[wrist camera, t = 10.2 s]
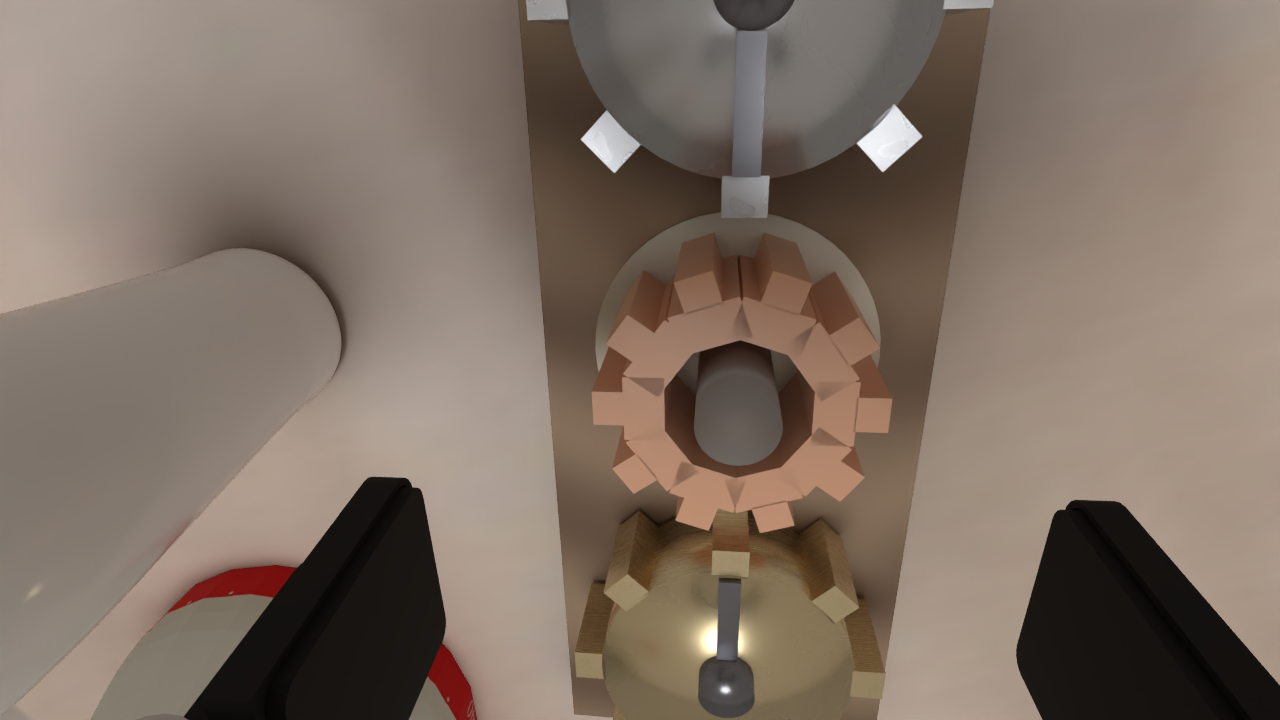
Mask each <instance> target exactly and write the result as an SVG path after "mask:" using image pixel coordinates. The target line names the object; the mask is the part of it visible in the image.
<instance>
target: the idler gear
mask: <svg viewBox="0 0 1280 720" xmlns="http://www.w3.org/2000/svg"><path fill="white" fill-rule="evenodd" d="M812 284H813V283H812V281H811V278H810V276H809V273H808V271H807V268H806V265H805V263H804V260H803V258H802V255H801V253H800V250H799V248H798V245H797V243H796V242H793V241H790V240H787V239H784V238H780V237H777V236H774V235H771V234H768V233H765V232H764V234H763V236H762V239H761V242H760V244H759V247H758V250H757V252H756V255H755V258H751V257H747V256H744V255H741V254H740V255H739V258H738V256H737V254H735V255H732V256H729V257H726V258H722V256H721V253H720V249H719V246H718V243H717V240H716V237H715V233H710V234H707V235H704V236H701V237H698V238H695V239H692V240H688V241H685V242H682V244H681V249H680V254H679V259H678V264H677V269H676V274H675V275H673V277H672V278H671V279H670V281H669V282H668V283H667V285H666V286H665V285H664V284H662V283H661V282H660V281H658V280H657V279H655V278H654V277H652V276H651V275H650V274H648V273H647V272H645V271H644V270H643V271H642V273H641V274H640V275H639V277H638V278H637V280H636V281H635V282H634V284H633V285H632V286H631V288H630V289H629V291H628V292H627V293H626V295H625V297H624V299H623V302H622V304H621V307H620V310H619V312H618V315H617V317H616V320H615V322H614V325H613V327H612V330H611V332H610V335H609V337H608V340H607V342H606V344H607V345H608V346H609V347H608V350H607V353H606V355H605V358H604V360H603V363H602V366H601V368H600V371H599V374H598V376H597V379H596V381H595V384H594V387H593V389H592V407H593V424H594V425H621V426H623V428H622V432H621V436H620V440H619V444H618V448H617V451H616V455H615V459H614V463H613V467H612V469H613V471H614V472H615V473H616V474H617V475H618V476H619V477H620V479H621V480H622V481H623V482H624V483H625V484H626V486H627V487H628V488H629V489H630V490H631V491H632V493H633V494H634V493H636V492H638V491H639V490H641V489H643V488H645V487H646V486H648V485H650V484H651V483H653V482H655V481H656V480H658V482H659V483H660V484H661V485H662V486H663V488H664V489H665V490H666V491H668V490H670V491H669V493H671V494H674V495H677V496H678V499H677V509H676V519H675V521H678V522H681V523H685V524H688V525H691V526H694V527H698V528H701V529H704V530H707V531H709V529H710V526H711V524H712V522H713V519H714V517H715V515H716V512H717V510H718V508H719V509H722V510H725V511H729V512H732V513H733V512H734V510H736V513H739V512H743V511H748V510H752V512H753V514H754V517H755V520H756V523H757V526H758V529H759V532H760V533H763V532H768V531H772V530H777V529H781V528H786V527H791V526H795V525H794V518H793V512H792V505H791V501H792V500H797V499H801V498H803V496H802V494H803V495H804V496H807V495H808V494H809V493H810V492H811V491H812V490H813V489H814V488H815V487H816V486H817V487H819V488H820V489H822V490H823V491H825V492H826V493H828V494H829V495H831V496H832V497H834V498H835V499H837V500H838V501H841V500H843V499H844V498H845V497H846V496H847V495H848V494H849V493H850V492H851V491H852V490H853V489H854V488H855V487H856V486H857V485H858V484H859V483H860V482H861V481H862V480H863V479H864V478H865V476H864V473H863V470H862V467H861V464H860V461H859V458H858V455H857V452H856V449H855V446H854V439H855V432H870V433H888V430H889V422H890V415H891V407H892V397H891V394H890V392H889V390H888V388H887V386H886V384H885V382H884V380H883V378H882V376H881V374H880V372H879V370H878V368H877V366H876V364H875V362H874V360H873V358H872V356H871V354H872V353H873V352H875V351H877V350H878V349H880V347H879V345H878V343H877V341H876V339H875V337H874V336H873V334H872V332H871V330H870V328H869V326H868V324H867V323H866V321H865V319H864V317H863V315H862V313H861V311H860V310H859V308H858V306H857V304H856V302H855V300H854V298H853V297H852V295H851V294H850V292H849V291H848V289H847V288H846V286H845V285H844V283H843V282H842V280H841V279H840V278H839V276H838V275H837V273H836V272H835V271H834V272H833V273H831V274H830V275H828V276H827V277H825V278H823V279H822V280H820V281H819V282H817V283H816V284H814V285H813V286H812ZM739 340H742V341H745V342H748V343H751V344H754V345H758V346H761V347H764V348H767V349H770V350H773V351H776V352H780V353H783V354H786V355H788V356H789V357H790V359H791V360H792V361H793V363H794V364H795V365H796V367H797V373H796V374H795V375H794V376H793V377H792V379H791V380H790V381H789V382H788V383H787V384H786V385H785V386H784V388H783V389H782V390H781V391H780V392H779V393H778V398H779V404H780V410H781V416H782V423H783V432H782V436H781V440H780V442H779V444H778V445H777V447H776V448H775V450H774V451H773V452H772V453H771V454H770V455H769V456H767V457H766V458H764V459H763V460H761V461H759V462H756V463H753V464H750V465H743V466H734V465H728V464H724V463H721V462H718V461H716V460H714V459H713V458H711V457H710V456H708V455H707V454H706V453H705V452H704V451H703V450H702V448H701V447H700V446H699V444H698V442H697V440H696V437H695V433H694V418H695V404H696V398H695V396H694V395H693V394H692V393H691V391H690V390H689V389H688V387H687V386H686V385H685V384H684V382H683V381H682V380H681V379H680V377H679V376H678V375H677V372H678V371H679V370H680V369H681V367H682V366H683V365H684V364H685V363H686V361H687V360H688V359H689V358H690V356H691V355H692V354H693V353H696V352H700V351H704V350H707V349H711V348H714V347H718V346H721V345H725V344H728V343H732V342H736V341H739Z"/></svg>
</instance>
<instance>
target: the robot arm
mask: <svg viewBox="0 0 1280 720" xmlns="http://www.w3.org/2000/svg"><path fill="white" fill-rule="evenodd" d="M445 627H446V617H445V611H444V606H443V600H442V595H441V590H440V584H439V579H438V574H437V568H436V563H435V558H434V552H433V547H432V542H431V536H430V531H429V526H428V520H427V515H426V510H425V504H424V499H423V495H422V492H421V490H420V489H419V488H412V485H411V483H410V481H409V480H408V479H406V478H392V477H370V478H367V479H366V480H365V481H364V482H363V484H362V485H361V486H360V488H359V489H358V490H357V492H356V493H355V494H354V496H353V497H352V498H351V500H350V501H349V502H348V504H347V505H346V506H345V508H344V509H343V510H342V512H341V513H340V514H339V516H338V517H337V518H336V520H335V521H334V522H333V524H332V525H331V526H330V528H329V529H328V530H327V532H326V533H325V534H324V536H323V537H322V538H321V540H320V541H319V542H318V544H317V545H316V546H315V548H314V549H313V550H312V552H311V553H310V554H309V555H308V557H307V558H306V559H305V561H304V562H303V563H302V564H301V565H300V566H299V567H298V568H297V569H296V570H295V571H294V572H293V573H292V574H291V576H290V577H289V578H288V580H287V581H286V582H285V584H284V585H283V586H282V588H281V589H280V590H279V591H278V593H277V594H276V595H275V597H274V598H273V599H272V601H271V602H270V603H269V605H268V606H267V607H266V609H265V610H264V611H263V613H262V614H261V615H260V617H259V618H258V619H257V620H256V622H255V623H254V624H253V626H252V627H251V628H250V630H249V631H248V632H247V634H246V635H245V636H244V638H243V639H242V640H241V642H240V643H239V644H238V646H237V647H236V648H235V649H234V651H233V652H232V653H231V655H230V656H229V657H228V659H227V660H226V661H225V663H224V664H223V665H222V667H221V668H220V669H219V671H218V672H217V673H216V675H215V676H214V677H213V678H212V680H211V681H210V682H209V684H208V685H207V686H206V688H205V689H204V690H203V692H202V693H201V694H200V696H199V697H198V698H197V700H196V701H195V702H194V704H193V705H192V706H191V707H190V709H189V710H188V711H187V713H186V714H185V715H184V717H183V716H178V715H172V714H159V715H151V716H145V717H142V718H139V719H136V720H409V718H410V716H411V714H412V711H413V709H414V707H415V704H416V702H417V700H418V697H419V695H420V693H421V690H422V688H423V686H424V683H425V681H426V679H427V676H428V674H429V672H430V669H431V667H432V665H433V663H434V660H435V658H436V656H437V653H438V651H439V649H440V646H441V644H442V641H443V638H444V634H445ZM1016 656H1017V664H1018V668H1019V671H1020V673H1021V676H1022V678H1023V680H1024V682H1025V684H1026V686H1027V688H1028V690H1029V692H1030V695H1031V697H1032V699H1033V701H1034V703H1035V705H1036V707H1037V709H1038V711H1039V713H1040V715H1041V717H1042V719H1043V720H1280V685H1279V684H1278V683H1277V682H1276V681H1275V679H1274V678H1273V677H1272V676H1271V675H1270V674H1269V672H1268V671H1267V670H1266V669H1265V668H1264V667H1263V666H1262V664H1261V663H1260V662H1259V661H1258V660H1257V659H1256V657H1255V656H1254V655H1253V654H1252V653H1251V652H1250V651H1249V649H1248V648H1247V647H1246V646H1245V645H1244V644H1243V642H1242V641H1241V640H1240V639H1239V638H1238V637H1237V635H1236V634H1235V633H1234V632H1233V631H1232V630H1231V629H1230V627H1229V626H1228V625H1227V624H1226V623H1225V622H1224V620H1223V619H1222V618H1221V617H1220V616H1219V615H1218V614H1217V612H1216V611H1215V610H1214V609H1213V608H1212V607H1211V605H1210V604H1209V603H1208V602H1207V601H1206V600H1205V598H1204V597H1203V596H1202V595H1201V594H1200V593H1199V592H1198V590H1197V589H1196V588H1195V587H1194V586H1193V585H1192V583H1191V582H1190V581H1189V580H1188V579H1187V578H1186V576H1185V575H1184V574H1183V573H1182V572H1181V571H1180V570H1179V568H1178V567H1177V566H1176V565H1175V564H1174V563H1173V561H1172V560H1171V559H1170V558H1169V557H1168V556H1167V555H1166V553H1165V552H1164V551H1163V550H1162V549H1161V548H1160V546H1159V545H1158V544H1157V543H1156V542H1155V541H1154V539H1153V538H1152V537H1151V536H1150V535H1149V534H1148V533H1147V531H1146V530H1145V529H1144V528H1143V527H1142V526H1141V524H1140V523H1139V522H1138V521H1137V520H1136V519H1135V517H1134V516H1133V515H1132V514H1131V513H1130V512H1129V511H1128V509H1127V508H1126V507H1125V506H1123V505H1122V504H1121V503H1119V502H1115V501H1089V500H1074V501H1071V502H1070V503H1069V504H1068V505H1067V507H1066V509H1065V510H1058V511H1057V512H1056V513H1055V514H1054V517H1053V519H1052V523H1051V526H1050V530H1049V534H1048V537H1047V541H1046V544H1045V548H1044V551H1043V555H1042V558H1041V562H1040V566H1039V569H1038V573H1037V576H1036V580H1035V583H1034V587H1033V590H1032V594H1031V598H1030V601H1029V605H1028V608H1027V612H1026V615H1025V619H1024V622H1023V626H1022V630H1021V633H1020V637H1019V640H1018V644H1017V649H1016Z"/></svg>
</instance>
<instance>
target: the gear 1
mask: <svg viewBox="0 0 1280 720" xmlns="http://www.w3.org/2000/svg"><path fill="white" fill-rule="evenodd" d="M993 2H994V0H526V6H527V20H530V21H536V22H542V23H548V24H554V25H570V29H571V34H572V38H573V42H574V46H575V48H576V51H577V54H578V57H579V60H580V62H581V65H582V68H583V70H584V72H585V74H586V76H587V78H588V80H589V82H590V84H591V86H592V88H593V90H594V92H595V93H596V95H597V96H598V98H599V99H600V101H601V102H602V104H603V105H604V107H605V108H606V111H605V113H604V114H603V115H602V116H601V117H600V118H599V119H598V120H597V122H596V123H595V124H594V125H593V126H592V127H591V128H590V129H589V131H588V132H587V133H586V134H585V135H584V136H583V137H582V138H581V140H582V141H583V142H584V143H585V144H586V145H587V146H588V147H589V148H590V149H591V150H592V151H593V152H594V153H595V154H596V155H597V156H598V157H599V158H600V159H601V160H602V161H603V162H604V163H605V164H606V165H607V166H608V167H609V168H610V169H611V170H612V171H613V172H614V173H615V172H616V171H617V170H618V169H619V168H620V167H621V166H622V164H623V163H624V162H625V161H626V160H627V159H628V158H629V157H630V156H631V155H632V154H633V153H634V152H635V151H636V149H637V148H638V147H639V146H640V145H642V146H644V147H645V148H646V149H648V150H649V151H651V152H652V153H654V154H655V155H657V156H658V157H660V158H662V159H664V160H666V161H668V162H670V163H672V164H674V165H676V166H678V167H680V168H683V169H686V170H689V171H691V172H694V173H697V174H700V175H705V176H710V177H715V178H720V179H721V218H767V215H768V196H769V179H771V178H776V177H781V176H786V175H791V174H794V173H797V172H800V171H803V170H806V169H809V168H812V167H815V166H817V165H819V164H821V163H823V162H825V161H827V160H829V159H831V158H833V157H836V156H837V155H839V154H840V153H842V152H844V151H845V150H847V149H848V148H850V147H852V148H853V149H854V150H855V151H856V152H857V153H858V154H859V155H860V156H862V157H863V158H864V159H866V160H867V161H868V162H870V163H871V164H872V165H874V166H875V167H876V168H878V169H879V170H880V171H882V172H884V171H885V170H886V169H887V168H888V167H889V166H890V165H891V164H893V163H894V162H895V161H896V160H897V159H898V158H899V157H900V156H902V155H903V154H904V153H905V152H906V151H907V150H908V149H909V148H910V147H912V146H913V145H914V144H915V143H916V142H917V141H918V140H919V139H921V138H922V135H921V134H920V133H919V132H918V131H917V130H916V128H915V127H914V126H913V125H912V124H911V123H910V122H909V120H908V119H907V118H906V117H905V116H904V115H903V113H902V112H901V111H900V110H899V109H898V108H897V107H896V106H897V105H898V103H899V102H900V101H901V99H902V98H903V97H904V96H905V94H906V93H907V92H908V90H909V89H910V88H911V86H912V85H913V83H914V82H915V80H916V78H917V77H918V75H919V73H920V72H921V70H922V68H923V66H924V65H925V63H926V61H927V59H928V57H929V55H930V53H931V50H932V48H933V46H934V44H935V42H936V39H937V37H938V35H939V32H940V28H941V25H942V22H943V19H944V16H945V15H952V14H958V13H964V12H970V11H976V10H982V9H989V8H993Z"/></svg>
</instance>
